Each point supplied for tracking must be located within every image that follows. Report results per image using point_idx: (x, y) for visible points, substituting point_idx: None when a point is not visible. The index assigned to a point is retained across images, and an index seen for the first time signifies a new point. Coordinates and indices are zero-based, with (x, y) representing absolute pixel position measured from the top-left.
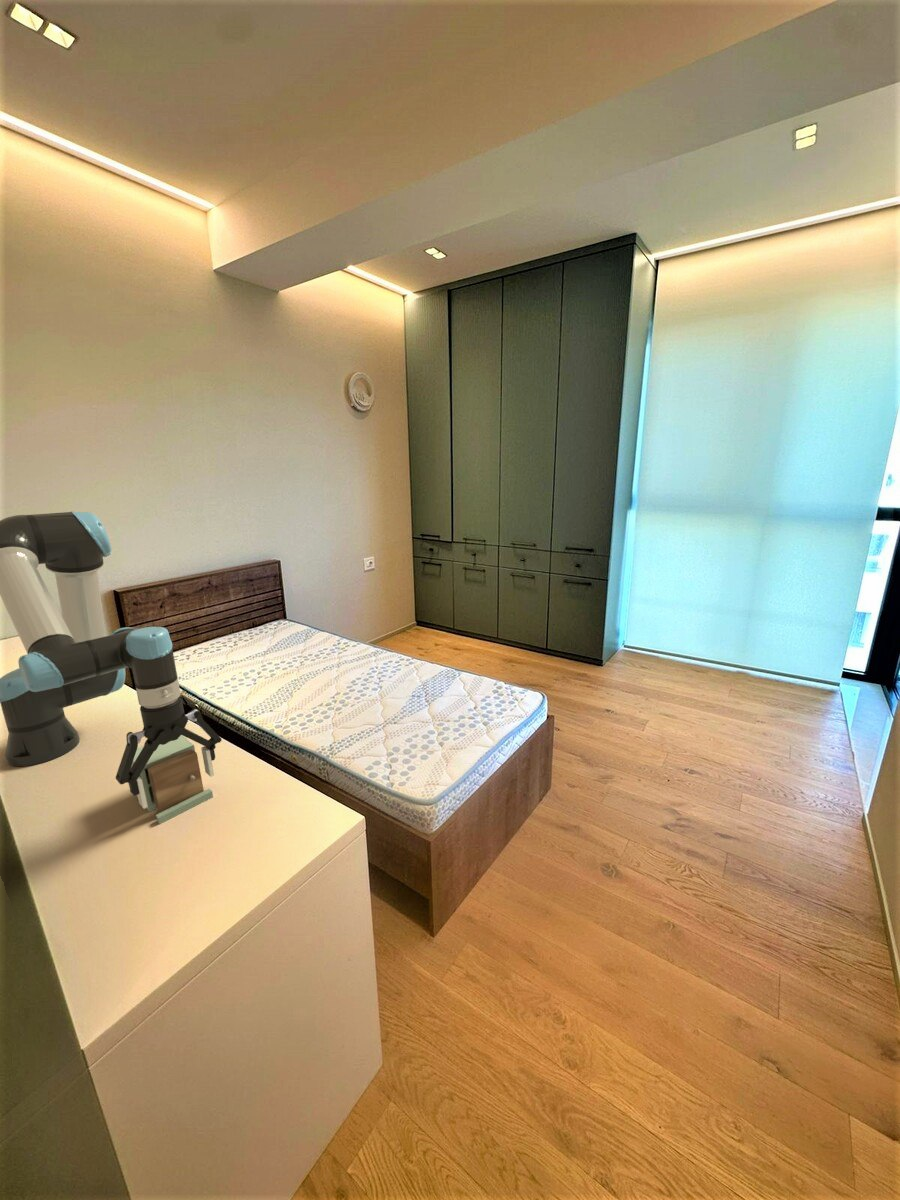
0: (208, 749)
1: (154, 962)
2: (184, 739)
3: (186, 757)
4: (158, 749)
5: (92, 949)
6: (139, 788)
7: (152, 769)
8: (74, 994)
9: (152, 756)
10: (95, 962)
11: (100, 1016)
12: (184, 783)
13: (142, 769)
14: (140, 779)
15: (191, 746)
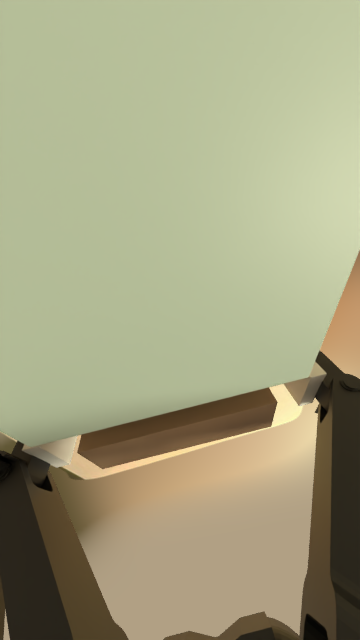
0: (314, 397)
1: (124, 463)
2: (332, 280)
3: (230, 435)
4: (115, 328)
5: (74, 454)
6: None
7: (102, 459)
8: (72, 469)
9: (82, 394)
10: (80, 459)
11: (95, 475)
12: None
13: (65, 515)
14: (63, 462)
15: (292, 378)
